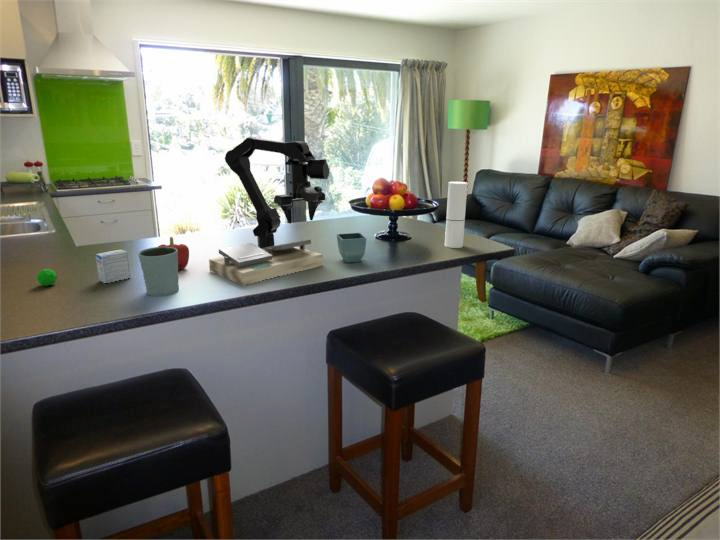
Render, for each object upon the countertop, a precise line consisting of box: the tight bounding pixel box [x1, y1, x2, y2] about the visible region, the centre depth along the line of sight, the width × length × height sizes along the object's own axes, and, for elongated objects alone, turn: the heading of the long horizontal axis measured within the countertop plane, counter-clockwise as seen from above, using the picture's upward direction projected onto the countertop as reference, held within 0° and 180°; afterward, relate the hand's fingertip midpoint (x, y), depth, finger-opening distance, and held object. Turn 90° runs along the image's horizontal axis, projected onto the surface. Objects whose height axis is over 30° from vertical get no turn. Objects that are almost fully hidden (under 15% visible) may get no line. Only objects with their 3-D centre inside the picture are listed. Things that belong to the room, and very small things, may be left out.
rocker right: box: [262, 239, 312, 252], centre depth 165 cm, size 12×12×2 cm
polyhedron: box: [36, 268, 58, 287], centre depth 142 cm, size 5×5×5 cm
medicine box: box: [94, 249, 132, 284], centre depth 147 cm, size 8×4×9 cm, turn 141°
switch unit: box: [208, 245, 324, 286], centre depth 161 cm, size 20×31×7 cm, turn 135°
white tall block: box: [444, 181, 468, 249], centre depth 190 cm, size 7×7×25 cm
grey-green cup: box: [137, 246, 180, 297], centre depth 137 cm, size 10×10×12 cm
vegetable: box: [157, 236, 190, 271], centre depth 158 cm, size 11×10×10 cm
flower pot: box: [336, 232, 367, 263], centre depth 170 cm, size 9×9×9 cm
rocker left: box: [218, 242, 272, 267], centre depth 154 cm, size 12×12×2 cm
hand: (300, 221), depth 176 cm, fingers open, 9 cm apart
